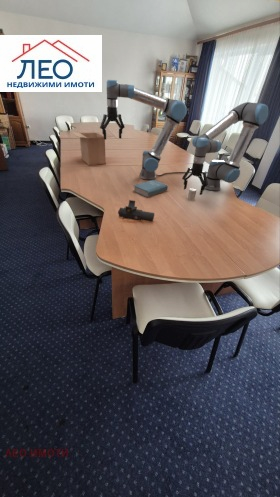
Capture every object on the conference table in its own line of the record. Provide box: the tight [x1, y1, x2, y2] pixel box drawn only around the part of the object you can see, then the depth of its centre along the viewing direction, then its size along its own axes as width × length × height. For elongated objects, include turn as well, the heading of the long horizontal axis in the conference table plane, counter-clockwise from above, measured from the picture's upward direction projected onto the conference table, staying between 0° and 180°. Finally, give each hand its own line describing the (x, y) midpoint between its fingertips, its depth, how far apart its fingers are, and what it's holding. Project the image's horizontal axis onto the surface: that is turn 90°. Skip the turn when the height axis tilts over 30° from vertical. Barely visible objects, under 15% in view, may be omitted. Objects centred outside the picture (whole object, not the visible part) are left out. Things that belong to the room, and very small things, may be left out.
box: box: [70, 129, 114, 166], centre depth 229 cm, size 44×36×27 cm
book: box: [133, 179, 169, 198], centre depth 177 cm, size 23×16×5 cm
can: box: [186, 187, 197, 202], centre depth 168 cm, size 6×6×8 cm
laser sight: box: [117, 199, 155, 223], centre depth 137 cm, size 10×22×10 cm, turn 78°
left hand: (112, 138), depth 173 cm, fingers open, 13 cm apart
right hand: (192, 191), depth 167 cm, fingers open, 13 cm apart
